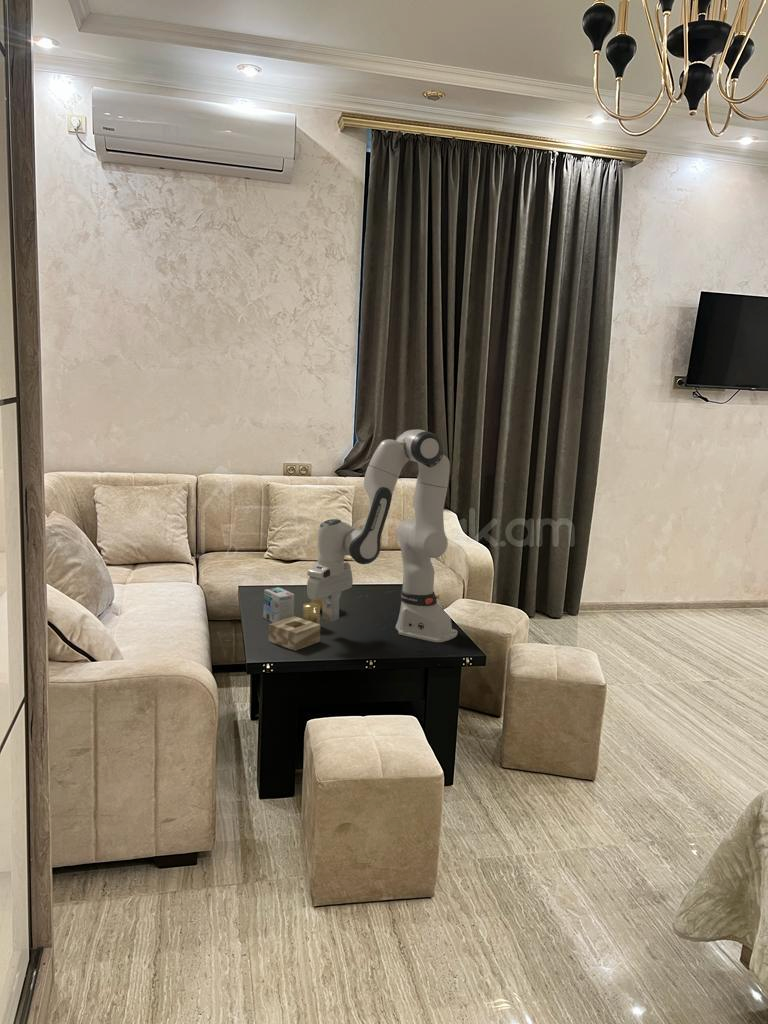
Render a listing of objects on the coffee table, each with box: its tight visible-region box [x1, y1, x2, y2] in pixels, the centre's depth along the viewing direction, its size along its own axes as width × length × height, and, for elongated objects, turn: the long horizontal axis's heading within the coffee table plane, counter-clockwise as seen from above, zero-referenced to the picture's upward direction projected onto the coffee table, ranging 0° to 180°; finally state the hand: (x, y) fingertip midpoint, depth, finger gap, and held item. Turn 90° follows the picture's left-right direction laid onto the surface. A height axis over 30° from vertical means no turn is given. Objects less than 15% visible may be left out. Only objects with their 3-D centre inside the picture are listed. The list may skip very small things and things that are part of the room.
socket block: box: [268, 615, 321, 651], centre depth 253 cm, size 12×12×6 cm
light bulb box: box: [263, 587, 296, 624], centre depth 273 cm, size 11×7×11 cm, turn 40°
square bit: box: [321, 591, 340, 622], centre depth 260 cm, size 4×4×10 cm
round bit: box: [302, 602, 321, 624], centre depth 269 cm, size 6×6×8 cm
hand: (330, 606), depth 260 cm, fingers closed on square bit, 4 cm apart
